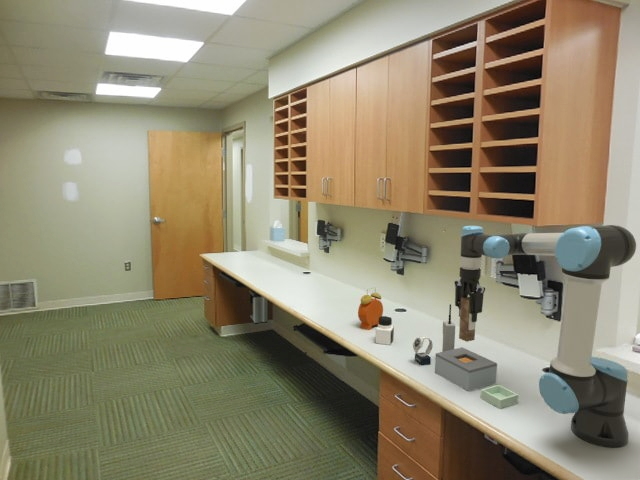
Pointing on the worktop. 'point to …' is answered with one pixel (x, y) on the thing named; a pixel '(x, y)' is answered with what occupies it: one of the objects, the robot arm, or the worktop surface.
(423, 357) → the watch
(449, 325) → the grey rectangular bar
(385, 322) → the medicine bottle
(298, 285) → the worktop surface
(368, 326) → the alarm clock
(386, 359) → the worktop surface
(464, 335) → the brown wooden block
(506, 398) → the green square tray
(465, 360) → the button
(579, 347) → the robot arm
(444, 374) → the grey box with hole
